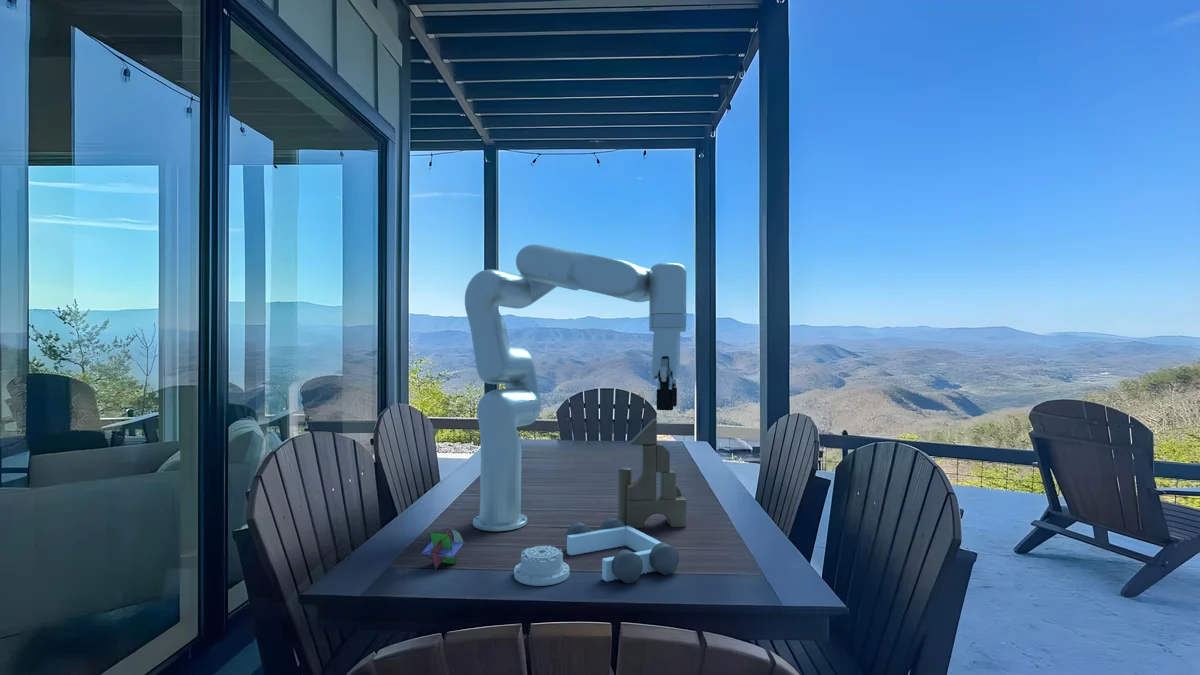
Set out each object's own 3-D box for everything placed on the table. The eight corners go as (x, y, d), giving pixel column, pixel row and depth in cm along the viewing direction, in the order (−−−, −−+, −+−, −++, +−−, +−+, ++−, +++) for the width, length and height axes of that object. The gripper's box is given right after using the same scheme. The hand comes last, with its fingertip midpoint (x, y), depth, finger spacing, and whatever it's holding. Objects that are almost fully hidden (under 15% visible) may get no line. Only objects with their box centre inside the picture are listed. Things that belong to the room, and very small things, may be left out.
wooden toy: (679, 518, 135) (679, 416, 136) (686, 527, 128) (686, 419, 129) (617, 520, 134) (618, 416, 135) (620, 528, 127) (621, 419, 128)
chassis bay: (561, 549, 113) (561, 524, 113) (622, 538, 120) (622, 515, 120) (613, 586, 94) (613, 557, 94) (681, 571, 101) (681, 544, 101)
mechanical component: (556, 591, 93) (577, 570, 102) (556, 564, 93) (577, 546, 102) (503, 582, 96) (529, 563, 106) (504, 557, 96) (529, 539, 106)
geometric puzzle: (442, 565, 97) (458, 521, 102) (409, 561, 99) (426, 518, 104) (459, 578, 103) (473, 535, 108) (427, 573, 105) (442, 532, 110)
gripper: (654, 326, 122) (653, 404, 121) (644, 321, 105) (643, 411, 104) (688, 326, 120) (687, 405, 120) (683, 321, 103) (683, 412, 103)
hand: (667, 408), depth 112 cm, fingers open, 9 cm apart
